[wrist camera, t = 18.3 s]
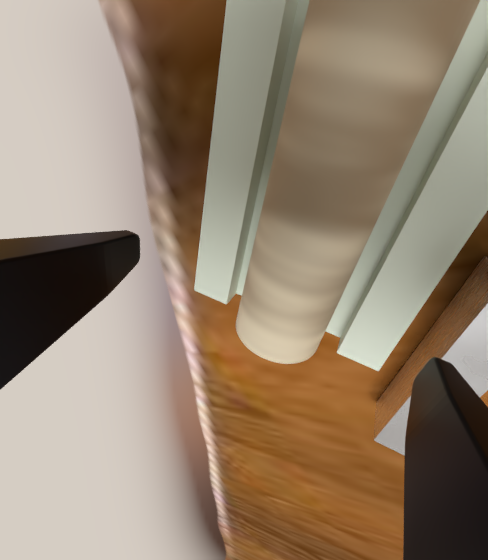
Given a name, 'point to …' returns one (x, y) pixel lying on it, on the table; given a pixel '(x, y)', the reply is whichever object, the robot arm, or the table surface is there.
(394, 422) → the steel guide
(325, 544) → the table surface
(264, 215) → the maple axle
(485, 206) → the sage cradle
